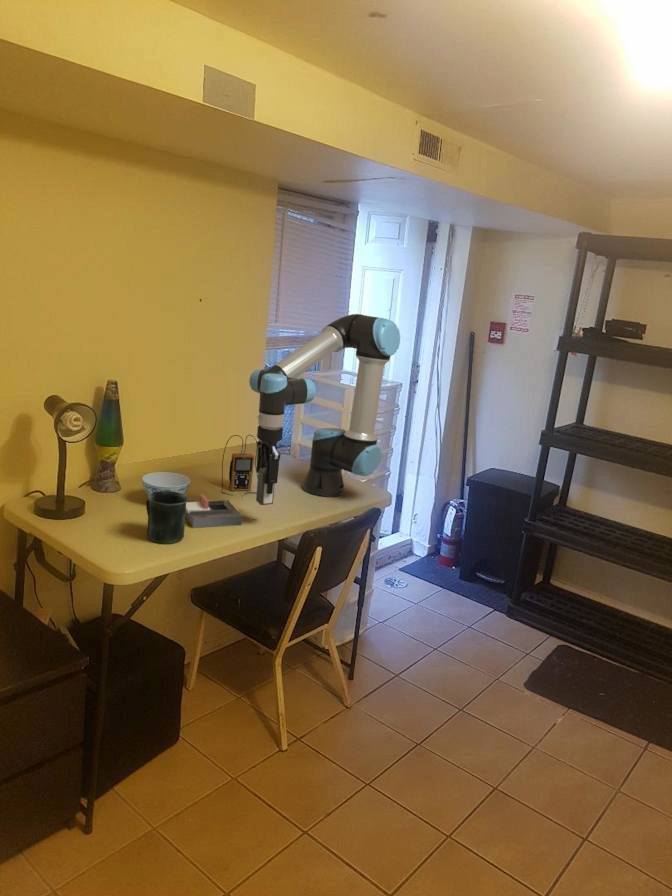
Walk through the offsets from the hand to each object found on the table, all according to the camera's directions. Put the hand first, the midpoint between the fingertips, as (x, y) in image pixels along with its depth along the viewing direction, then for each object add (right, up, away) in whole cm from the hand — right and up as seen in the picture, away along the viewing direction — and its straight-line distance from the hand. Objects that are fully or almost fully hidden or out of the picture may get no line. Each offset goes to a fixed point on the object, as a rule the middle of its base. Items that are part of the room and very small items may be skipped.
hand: (264, 500), depth 212 cm
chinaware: (-33, -2, +11) cm, 35 cm away
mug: (-28, -9, -15) cm, 33 cm away
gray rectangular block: (0, -1, 0) cm, 1 cm away
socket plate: (-17, -6, +2) cm, 18 cm away
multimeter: (-11, 0, +28) cm, 30 cm away
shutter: (-21, -3, 0) cm, 21 cm away
